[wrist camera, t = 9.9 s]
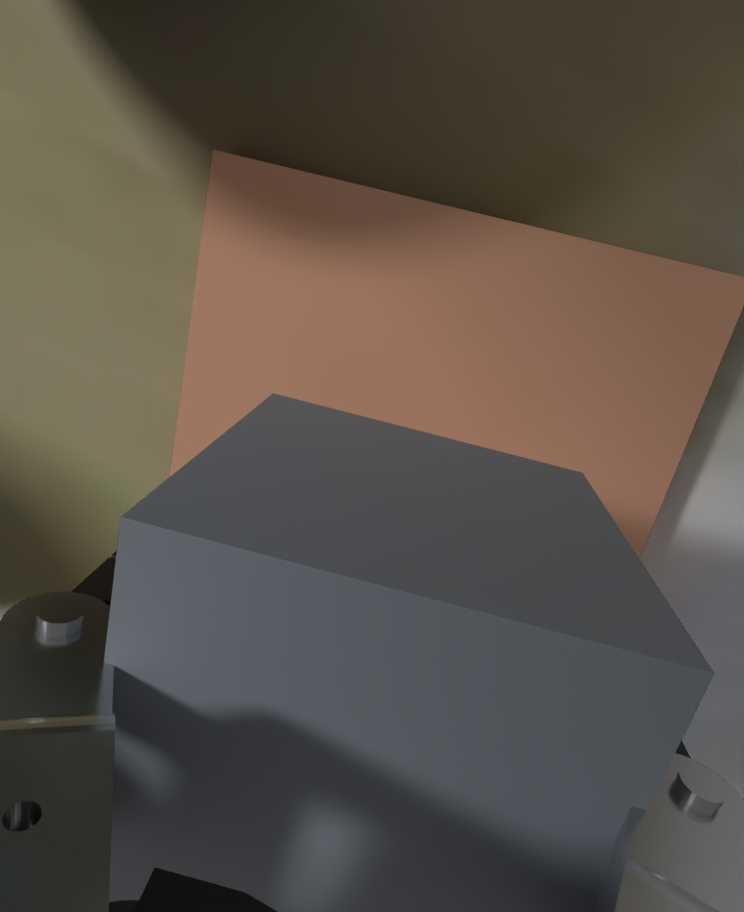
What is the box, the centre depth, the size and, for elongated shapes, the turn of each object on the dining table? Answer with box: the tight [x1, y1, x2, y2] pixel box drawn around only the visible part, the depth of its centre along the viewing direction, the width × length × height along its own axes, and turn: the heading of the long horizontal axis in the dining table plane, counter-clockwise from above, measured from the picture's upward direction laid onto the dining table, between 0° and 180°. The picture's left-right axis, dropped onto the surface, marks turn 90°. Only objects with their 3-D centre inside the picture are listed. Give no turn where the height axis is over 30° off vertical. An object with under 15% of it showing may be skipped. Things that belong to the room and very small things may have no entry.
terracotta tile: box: [170, 150, 744, 558], centre depth 19 cm, size 14×14×1 cm
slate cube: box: [104, 393, 714, 912], centre depth 10 cm, size 6×6×6 cm
